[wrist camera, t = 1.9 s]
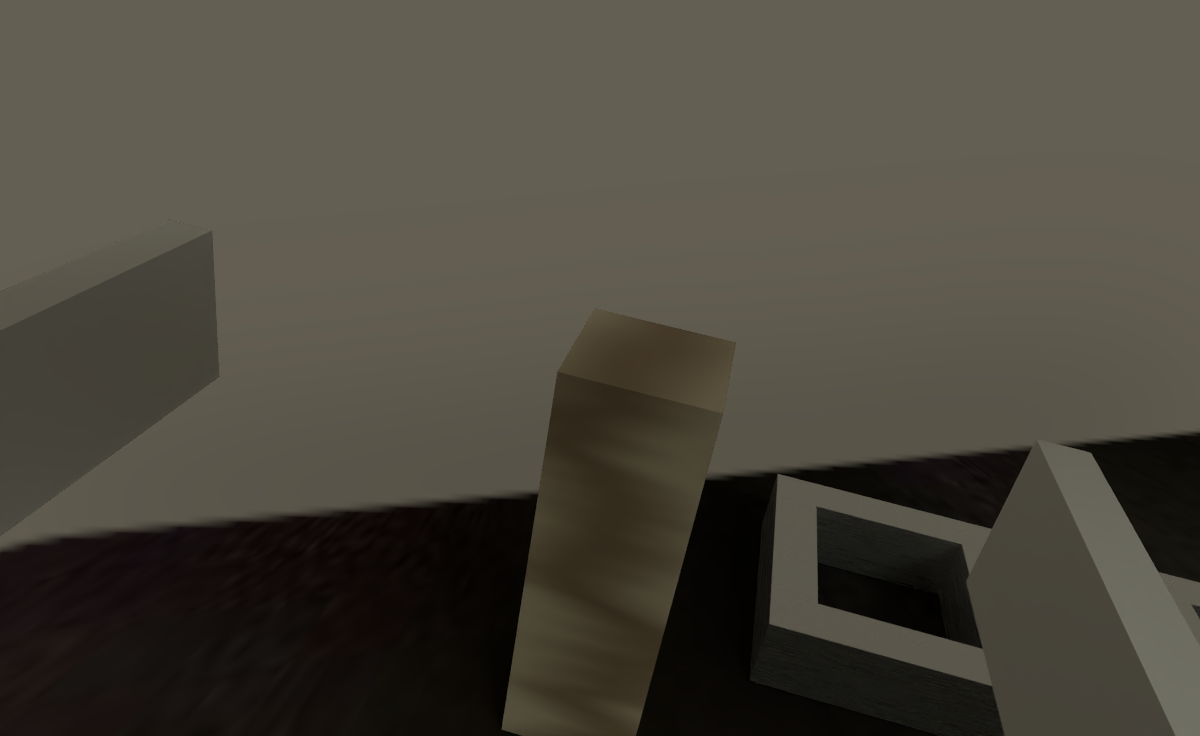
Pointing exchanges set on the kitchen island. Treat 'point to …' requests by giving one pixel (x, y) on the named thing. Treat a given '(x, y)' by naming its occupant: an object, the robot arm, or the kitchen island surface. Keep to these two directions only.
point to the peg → (612, 522)
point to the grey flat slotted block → (871, 647)
